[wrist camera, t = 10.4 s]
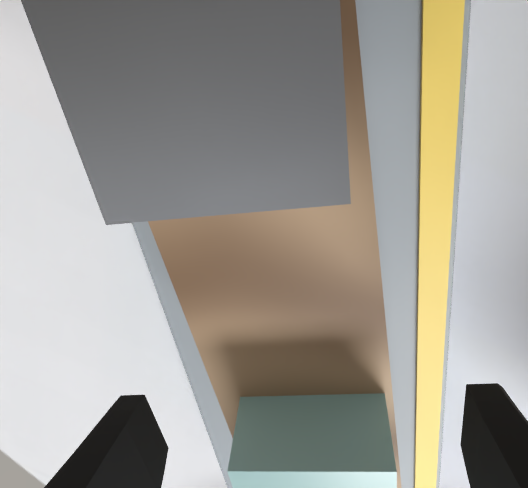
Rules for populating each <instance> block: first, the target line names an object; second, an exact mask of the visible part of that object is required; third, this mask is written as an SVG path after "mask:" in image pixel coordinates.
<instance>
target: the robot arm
mask: <svg viewBox="0 0 528 488" xmlns="http://www.w3.org/2000/svg"><path fill="white" fill-rule="evenodd" d="M461 448H462V453H463V457H464V462H465V466H466V471H467V475H468V479H469V483H470V488H528V421H527V420H526V419H525V417H524V416H523V415H522V413H521V412H520V411H519V409H518V408H517V407H516V405H515V404H514V402H513V401H512V400H511V398H510V397H509V396H508V394H507V393H506V391H505V390H504V389H503V387H502V386H500V385H499V384H498V383H497V384H466V394H465V405H464V415H463V426H462V436H461ZM167 453H168V446H167V444H166V442H165V439H164V437H163V435H162V433H161V430H160V428H159V426H158V424H157V421H156V419H155V417H154V415H153V412H152V410H151V408H150V406H149V403H148V401H147V399H146V397H145V395H125V396H120V397H119V398H118V400H117V401H116V402H115V403H114V404H113V406H112V407H111V408H110V409H109V410H108V412H107V413H106V414H105V415H104V416H103V418H102V419H101V420H100V421H99V423H98V424H97V425H96V426H95V427H94V429H93V430H92V431H91V432H90V434H89V435H88V436H87V437H86V439H85V440H84V441H83V442H82V443H81V445H80V446H79V447H78V448H77V449H76V451H75V452H74V453H73V454H72V455H71V457H70V458H69V459H68V460H67V461H66V463H65V464H64V465H63V466H62V467H61V468H60V470H59V471H58V472H57V473H56V474H55V476H54V477H53V478H52V479H51V480H50V481H49V483H48V484H47V485H46V486H45V487H44V488H161V485H162V480H163V475H164V470H165V464H166V458H167Z"/></svg>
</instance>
